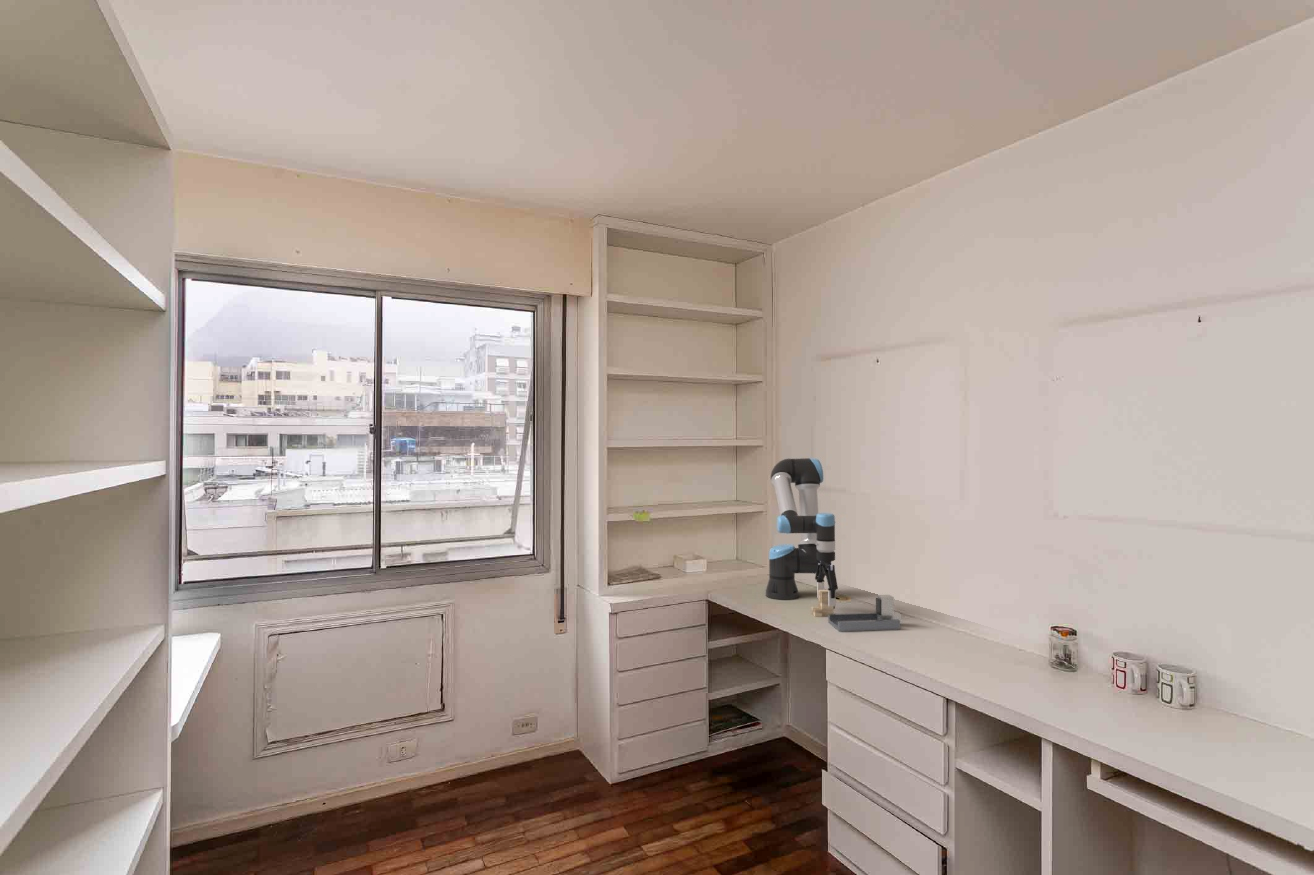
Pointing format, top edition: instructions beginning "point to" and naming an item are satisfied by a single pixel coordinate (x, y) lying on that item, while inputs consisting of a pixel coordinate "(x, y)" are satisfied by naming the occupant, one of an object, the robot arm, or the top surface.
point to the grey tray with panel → (869, 618)
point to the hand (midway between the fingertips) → (826, 602)
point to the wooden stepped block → (823, 605)
